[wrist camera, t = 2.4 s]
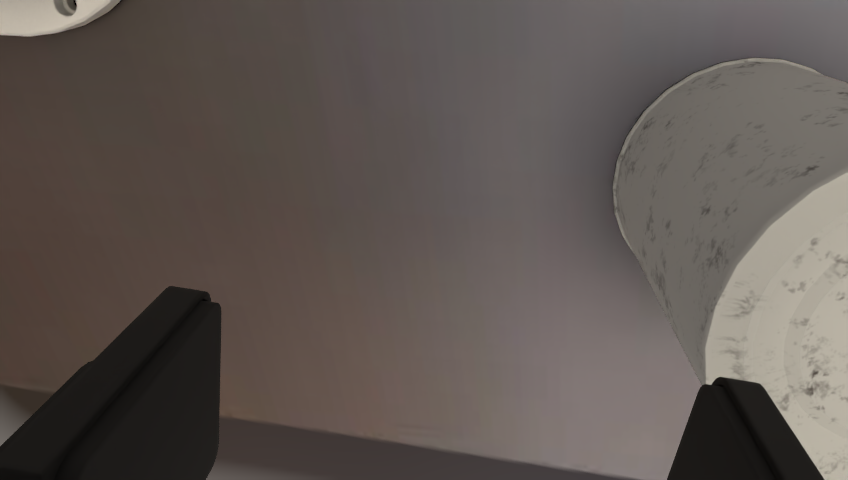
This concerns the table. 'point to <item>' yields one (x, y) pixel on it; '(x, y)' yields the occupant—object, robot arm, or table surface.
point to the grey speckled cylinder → (750, 234)
